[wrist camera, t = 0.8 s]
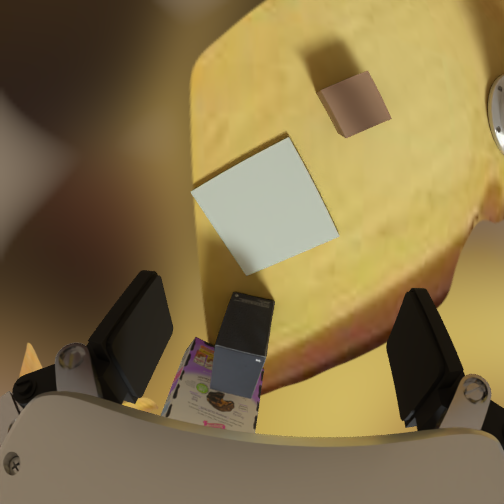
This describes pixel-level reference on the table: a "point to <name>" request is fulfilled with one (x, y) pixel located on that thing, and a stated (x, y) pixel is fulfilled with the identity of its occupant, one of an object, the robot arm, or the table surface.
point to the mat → (266, 208)
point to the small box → (242, 345)
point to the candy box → (208, 395)
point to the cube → (354, 104)
